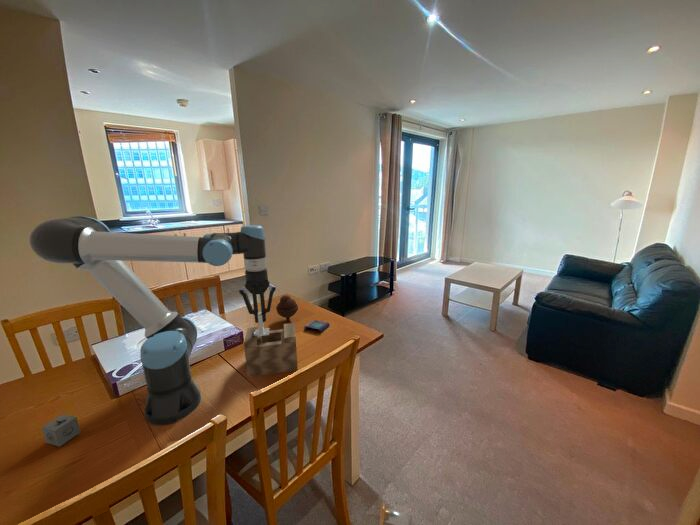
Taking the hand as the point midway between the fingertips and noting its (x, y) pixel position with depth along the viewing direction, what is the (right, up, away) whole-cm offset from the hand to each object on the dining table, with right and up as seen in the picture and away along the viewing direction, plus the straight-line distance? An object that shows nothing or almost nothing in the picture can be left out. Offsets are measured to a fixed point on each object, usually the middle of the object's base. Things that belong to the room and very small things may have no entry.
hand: (261, 329), depth 110 cm
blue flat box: (+16, -9, +29) cm, 34 cm away
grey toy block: (-46, -23, -29) cm, 59 cm away
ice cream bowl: (+2, -6, +39) cm, 40 cm away
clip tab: (0, -1, 0) cm, 1 cm away
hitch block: (+3, -14, +4) cm, 15 cm away
